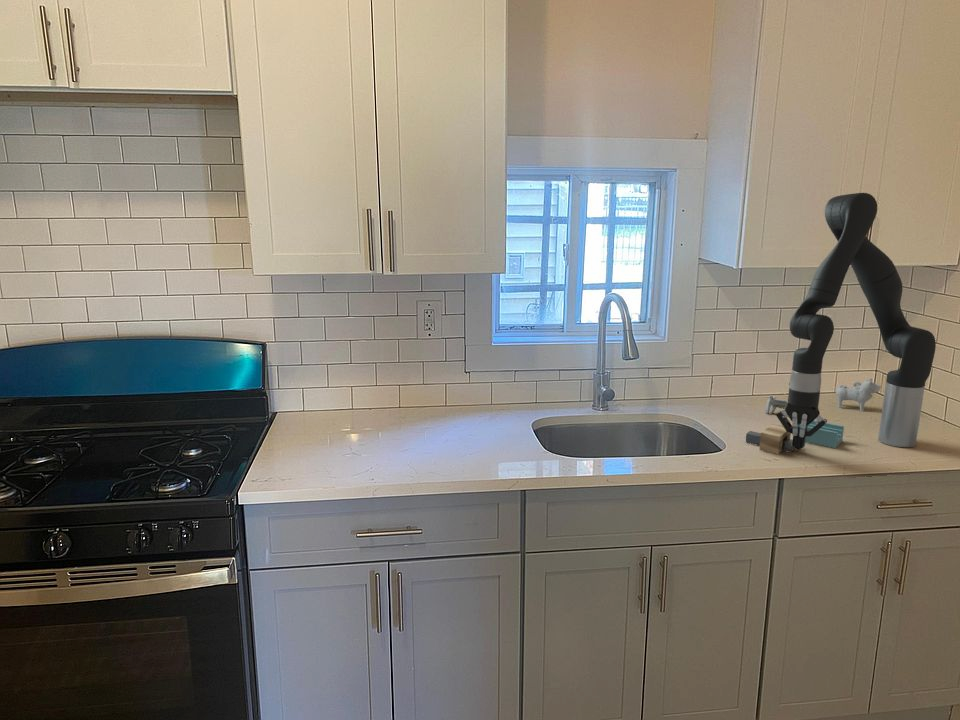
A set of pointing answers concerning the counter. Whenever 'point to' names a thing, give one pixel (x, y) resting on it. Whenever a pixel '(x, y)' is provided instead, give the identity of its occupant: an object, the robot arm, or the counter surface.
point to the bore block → (773, 438)
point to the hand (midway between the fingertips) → (797, 448)
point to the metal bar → (755, 437)
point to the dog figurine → (857, 393)
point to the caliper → (774, 404)
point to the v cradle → (826, 434)
